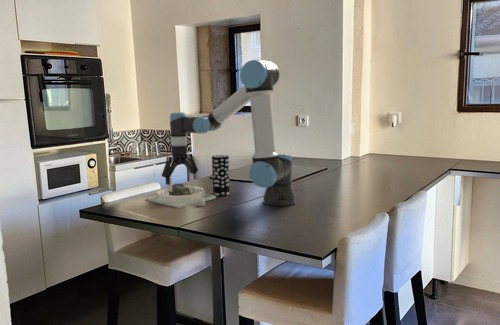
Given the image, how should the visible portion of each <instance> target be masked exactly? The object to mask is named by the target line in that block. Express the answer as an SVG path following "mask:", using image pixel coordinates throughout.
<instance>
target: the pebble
mask: <svg viewBox="0 0 500 325" xmlns="http://www.w3.org/2000/svg"><path fill="white" fill-rule="evenodd" d="M196 204H197V206H198V207H204V206H205V205H206V201H204V200H203V199H200V200H198V202H197V203H196Z"/></svg>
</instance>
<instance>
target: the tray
mask: <svg viewBox="0 0 500 325" xmlns="http://www.w3.org/2000/svg"><path fill="white" fill-rule="evenodd" d="M215 199H217V196H215V195H213V194H209V193H205V198H204V199H203V200H204V201H205V202H206V201H207V202H208V201H211V200H215ZM199 200H200V199H199ZM146 201H149V202H153V203H157V204H161V205H164V206H165V205H166V206H168V207H173V208H177V209H178V208H183V207H187V206H191V205H194V204H197V202H198V200H195V201H191V202H187V203H183V204H179V205H177V204H173V203H169V202H165V201H161V200H158V194H157V195H153V196H148V197H146Z"/></svg>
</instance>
